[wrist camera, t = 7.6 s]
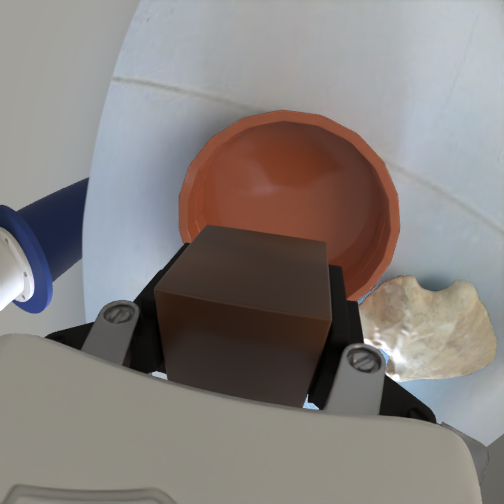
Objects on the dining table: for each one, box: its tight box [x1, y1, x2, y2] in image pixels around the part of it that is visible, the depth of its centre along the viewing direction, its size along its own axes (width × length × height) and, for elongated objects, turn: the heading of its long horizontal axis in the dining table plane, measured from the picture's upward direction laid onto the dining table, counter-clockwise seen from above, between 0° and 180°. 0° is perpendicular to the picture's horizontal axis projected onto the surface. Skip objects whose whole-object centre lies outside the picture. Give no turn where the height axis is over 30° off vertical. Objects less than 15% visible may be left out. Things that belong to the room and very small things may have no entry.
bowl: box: [179, 110, 400, 301], centre depth 22 cm, size 15×15×4 cm
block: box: [154, 225, 332, 408], centre depth 10 cm, size 4×4×4 cm
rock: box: [358, 275, 497, 382], centre depth 25 cm, size 4×13×20 cm
